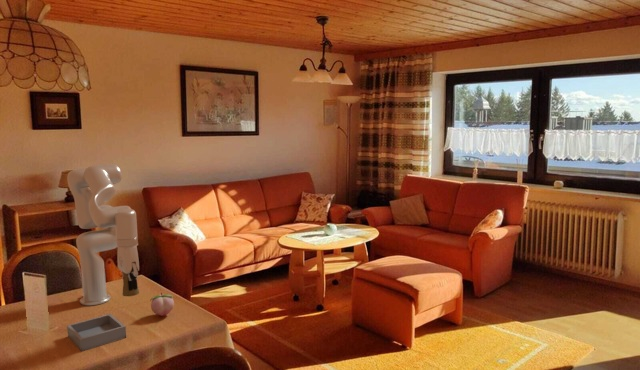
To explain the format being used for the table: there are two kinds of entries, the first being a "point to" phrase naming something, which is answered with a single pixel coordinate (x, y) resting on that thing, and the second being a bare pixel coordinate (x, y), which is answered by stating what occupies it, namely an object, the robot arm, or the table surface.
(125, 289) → the cork
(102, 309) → the table surface
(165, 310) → the decorative fruit
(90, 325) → the box
